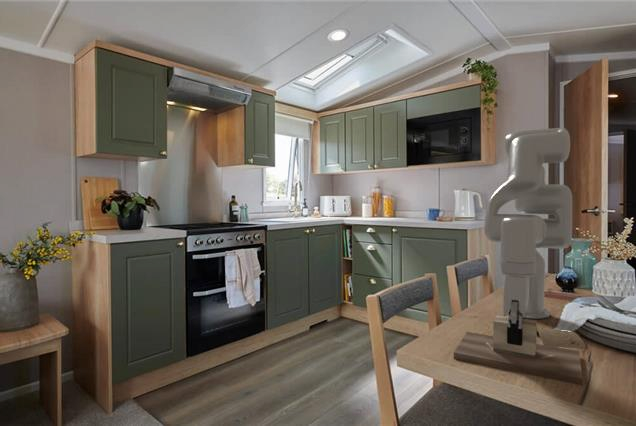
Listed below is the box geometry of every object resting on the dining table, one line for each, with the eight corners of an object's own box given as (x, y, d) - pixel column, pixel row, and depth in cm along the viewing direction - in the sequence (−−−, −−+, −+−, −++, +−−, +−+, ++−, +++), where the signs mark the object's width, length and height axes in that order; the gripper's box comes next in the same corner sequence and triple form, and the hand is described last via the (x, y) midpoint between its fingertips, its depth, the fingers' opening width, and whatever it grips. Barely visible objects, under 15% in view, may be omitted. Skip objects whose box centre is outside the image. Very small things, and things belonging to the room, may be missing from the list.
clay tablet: (526, 330, 114) (526, 321, 114) (564, 332, 113) (564, 323, 112) (545, 350, 100) (546, 340, 100) (589, 352, 98) (589, 342, 98)
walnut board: (466, 337, 108) (466, 331, 108) (578, 356, 94) (578, 350, 94) (453, 358, 95) (453, 352, 95) (582, 385, 81) (582, 378, 81)
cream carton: (496, 344, 99) (496, 315, 99) (536, 351, 94) (536, 321, 94) (493, 351, 95) (493, 320, 95) (535, 359, 90) (535, 327, 90)
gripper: (504, 261, 103) (503, 324, 104) (495, 273, 88) (494, 346, 89) (537, 263, 99) (535, 329, 100) (533, 276, 84) (531, 353, 85)
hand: (516, 337), depth 94 cm, fingers open, 9 cm apart
